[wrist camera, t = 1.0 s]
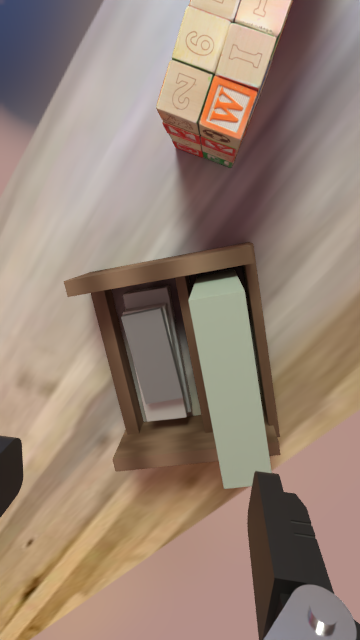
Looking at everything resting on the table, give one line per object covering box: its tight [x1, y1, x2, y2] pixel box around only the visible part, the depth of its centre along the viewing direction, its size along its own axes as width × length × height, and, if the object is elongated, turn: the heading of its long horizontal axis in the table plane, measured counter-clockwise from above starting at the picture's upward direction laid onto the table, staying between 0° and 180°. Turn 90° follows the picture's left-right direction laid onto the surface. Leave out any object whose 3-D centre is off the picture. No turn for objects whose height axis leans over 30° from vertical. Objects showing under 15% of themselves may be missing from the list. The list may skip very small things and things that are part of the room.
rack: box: [64, 242, 280, 471], centre depth 37 cm, size 18×21×7 cm
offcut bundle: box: [121, 285, 192, 422], centre depth 38 cm, size 5×15×5 cm, turn 10°
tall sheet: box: [188, 269, 272, 489], centre depth 33 cm, size 4×16×14 cm, turn 11°
